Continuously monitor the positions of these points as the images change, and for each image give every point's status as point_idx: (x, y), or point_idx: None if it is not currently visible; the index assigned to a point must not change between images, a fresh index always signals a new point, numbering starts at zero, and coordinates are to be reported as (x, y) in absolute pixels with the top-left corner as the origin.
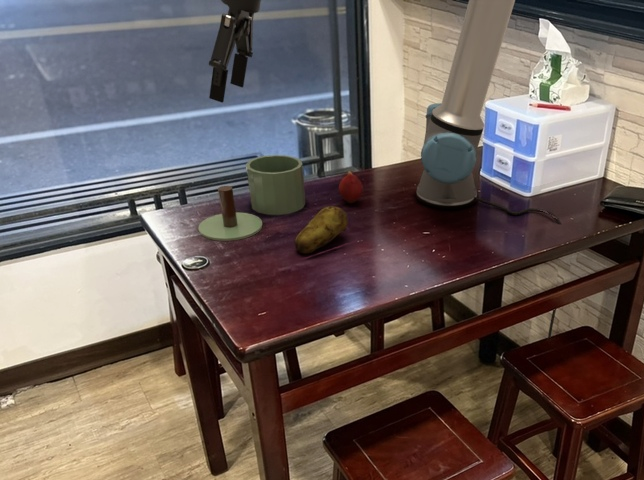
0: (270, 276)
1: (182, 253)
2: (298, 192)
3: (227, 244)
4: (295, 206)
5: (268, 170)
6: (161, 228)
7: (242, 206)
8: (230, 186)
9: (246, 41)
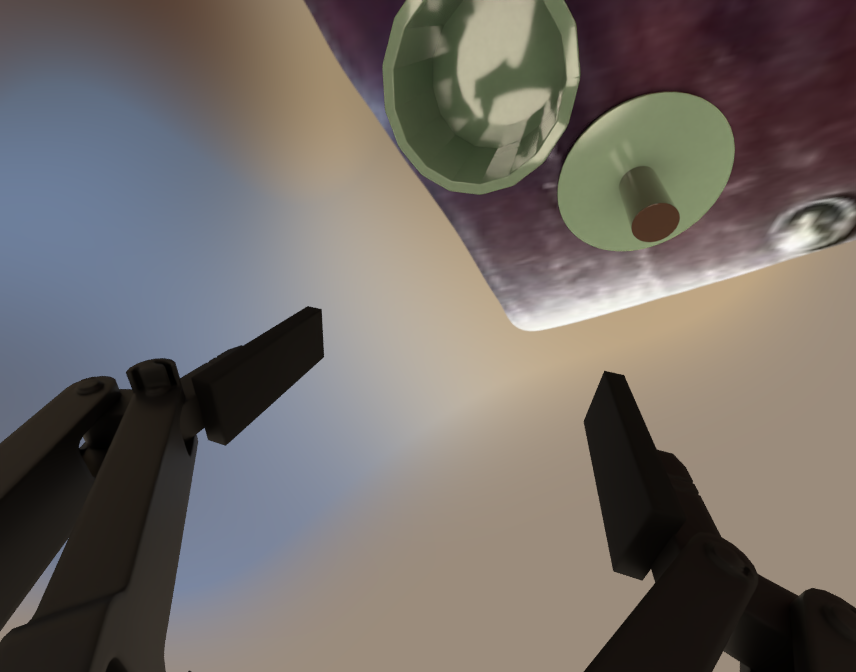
0: None
1: (738, 259)
2: None
3: None
4: None
5: (420, 128)
6: (590, 308)
7: None
8: (642, 210)
9: (141, 510)
